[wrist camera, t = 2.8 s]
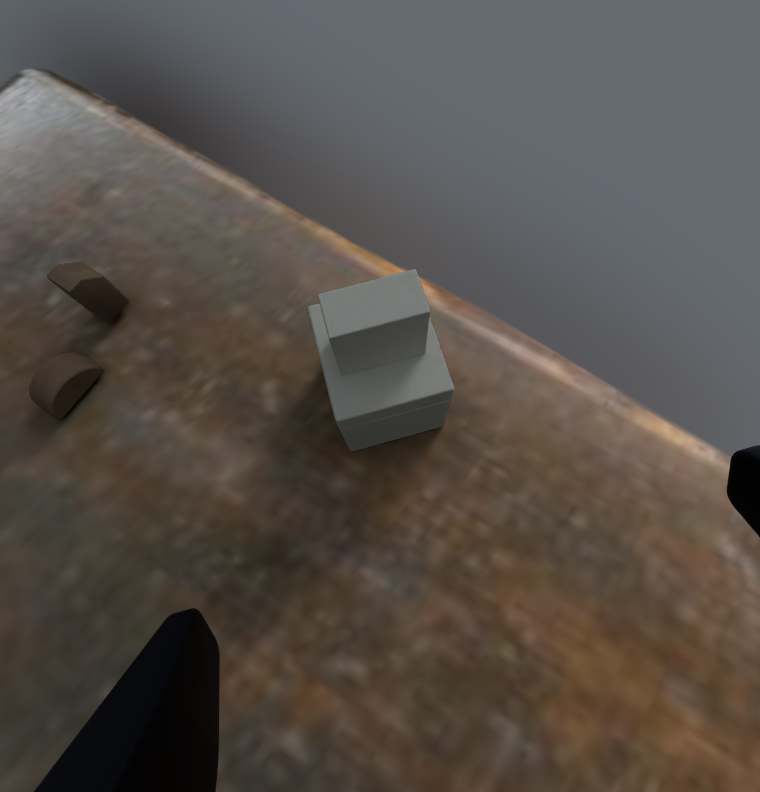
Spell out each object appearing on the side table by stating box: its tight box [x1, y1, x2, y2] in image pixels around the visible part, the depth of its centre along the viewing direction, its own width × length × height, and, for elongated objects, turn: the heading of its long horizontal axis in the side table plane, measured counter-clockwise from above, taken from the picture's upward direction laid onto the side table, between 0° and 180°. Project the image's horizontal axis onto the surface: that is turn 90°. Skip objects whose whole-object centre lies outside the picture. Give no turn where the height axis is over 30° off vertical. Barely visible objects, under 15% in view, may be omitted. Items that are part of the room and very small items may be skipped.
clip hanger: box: [307, 269, 454, 452], centre depth 19 cm, size 5×4×8 cm
